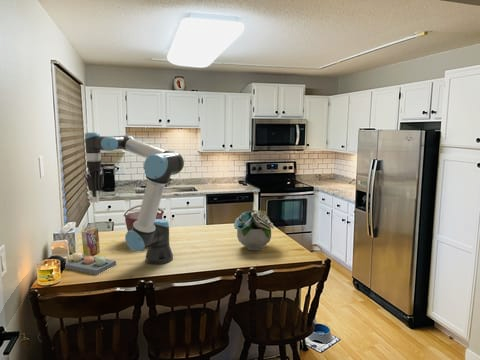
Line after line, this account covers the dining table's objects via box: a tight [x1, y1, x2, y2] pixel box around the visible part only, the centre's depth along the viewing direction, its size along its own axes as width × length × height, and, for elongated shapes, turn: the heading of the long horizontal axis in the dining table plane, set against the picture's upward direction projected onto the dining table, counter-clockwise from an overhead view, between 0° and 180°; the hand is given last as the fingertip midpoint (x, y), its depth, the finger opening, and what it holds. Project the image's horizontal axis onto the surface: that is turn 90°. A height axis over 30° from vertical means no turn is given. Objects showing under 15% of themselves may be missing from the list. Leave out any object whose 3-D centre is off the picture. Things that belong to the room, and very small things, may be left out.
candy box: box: [81, 227, 101, 257], centre depth 206 cm, size 9×4×15 cm, turn 156°
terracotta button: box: [84, 255, 95, 265], centre depth 190 cm, size 5×5×4 cm
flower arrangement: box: [233, 209, 275, 252], centre depth 217 cm, size 25×25×24 cm
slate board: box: [65, 254, 117, 276], centre depth 190 cm, size 24×14×2 cm, turn 68°
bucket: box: [123, 204, 165, 232], centre depth 226 cm, size 24×22×25 cm
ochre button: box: [71, 251, 83, 263], centre depth 193 cm, size 5×5×4 cm
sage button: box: [95, 255, 106, 267], centre depth 187 cm, size 5×5×4 cm
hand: (96, 202), depth 199 cm, fingers closed
